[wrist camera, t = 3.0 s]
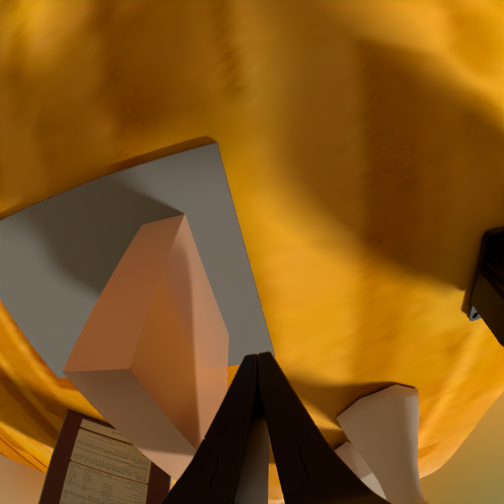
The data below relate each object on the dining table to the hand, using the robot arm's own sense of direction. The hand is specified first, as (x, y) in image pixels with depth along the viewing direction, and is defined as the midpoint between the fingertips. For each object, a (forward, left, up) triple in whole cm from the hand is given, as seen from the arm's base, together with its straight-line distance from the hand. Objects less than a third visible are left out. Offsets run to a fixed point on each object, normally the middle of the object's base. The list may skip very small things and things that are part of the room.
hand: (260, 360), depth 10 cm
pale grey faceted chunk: (-4, +24, -6) cm, 25 cm away
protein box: (+19, +20, -6) cm, 28 cm away
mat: (+8, 0, -6) cm, 10 cm away
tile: (+3, 0, -5) cm, 6 cm away
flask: (-7, +16, -6) cm, 18 cm away
